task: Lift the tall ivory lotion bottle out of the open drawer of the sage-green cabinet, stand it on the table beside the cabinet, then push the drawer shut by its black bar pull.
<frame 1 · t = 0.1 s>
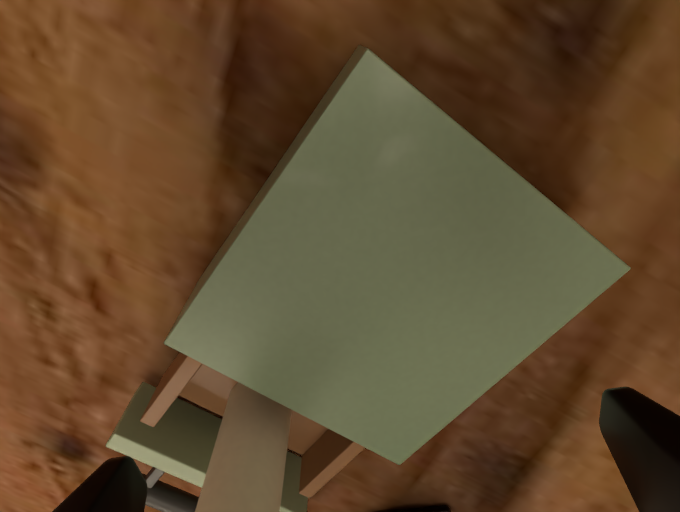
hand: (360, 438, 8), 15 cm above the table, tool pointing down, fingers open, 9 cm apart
drawer: (251, 419, 24), point 3 cm above the table, slide at 7.5 cm, touching lotion bottle
lotion bottle: (261, 400, 25), point 2 cm above the table, touching drawer
cabinet: (376, 247, 23), on the table
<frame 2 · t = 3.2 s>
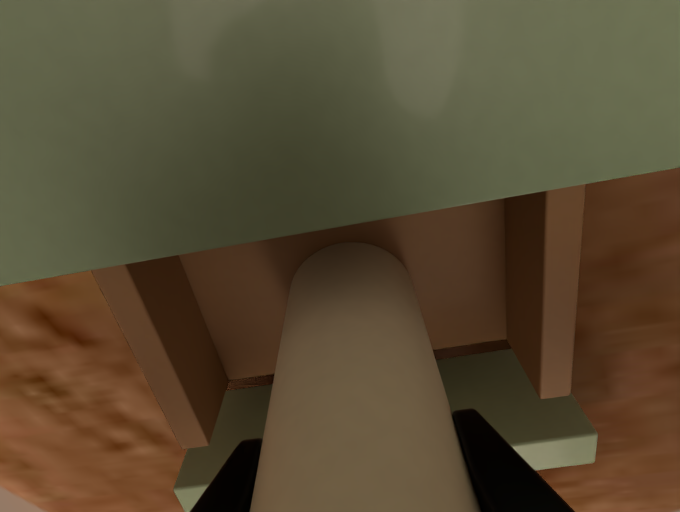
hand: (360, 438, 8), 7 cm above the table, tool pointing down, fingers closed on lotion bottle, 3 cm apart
drawer: (356, 335, 12), point 3 cm above the table, slide at 7.5 cm, touching lotion bottle
lotion bottle: (351, 297, 13), point 2 cm above the table, touching drawer, gripper
when the fingers open (5 cm above the table, at t = 7.3 s): lotion bottle stays where it is, on the table.
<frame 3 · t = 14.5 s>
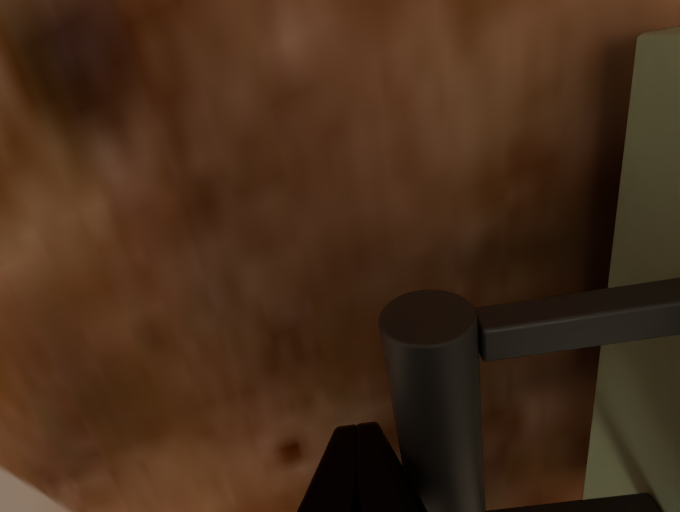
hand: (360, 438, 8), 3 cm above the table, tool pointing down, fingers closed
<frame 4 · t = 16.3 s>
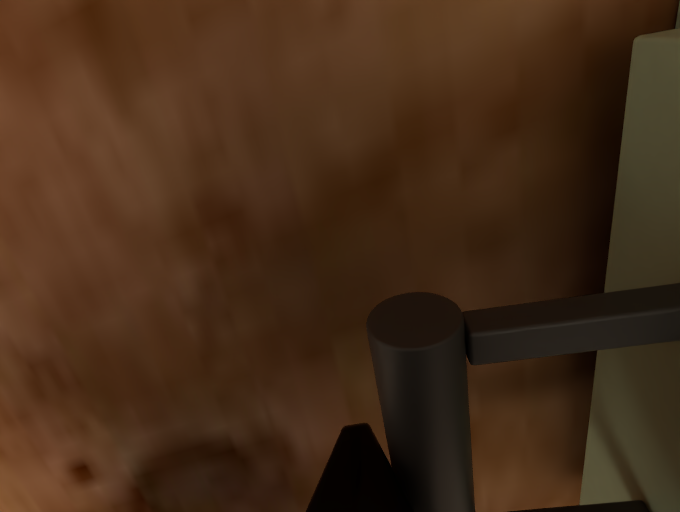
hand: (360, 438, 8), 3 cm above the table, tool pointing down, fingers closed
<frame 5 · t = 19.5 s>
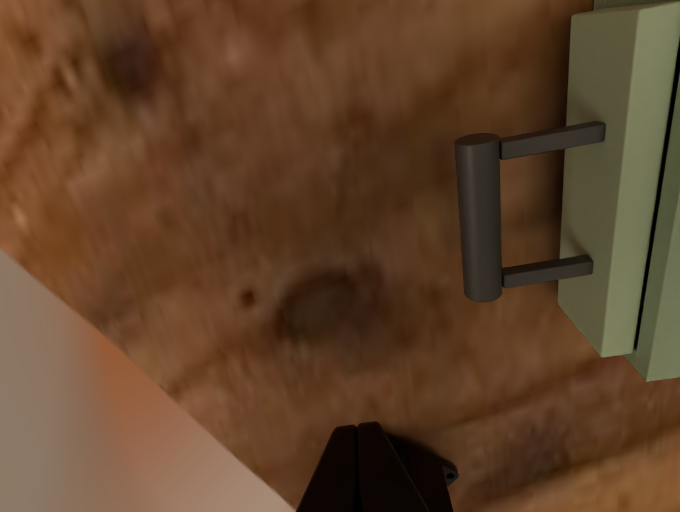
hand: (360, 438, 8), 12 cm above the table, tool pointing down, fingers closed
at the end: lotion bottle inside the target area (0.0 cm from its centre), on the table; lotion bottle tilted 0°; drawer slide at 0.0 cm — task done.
